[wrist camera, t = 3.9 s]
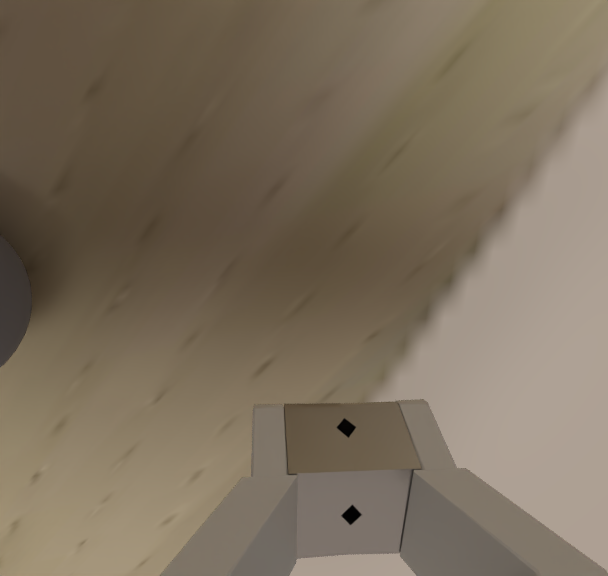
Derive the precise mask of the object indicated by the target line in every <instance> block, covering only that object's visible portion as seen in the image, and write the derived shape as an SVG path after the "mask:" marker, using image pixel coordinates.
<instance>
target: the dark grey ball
mask: <svg viewBox="0 0 608 576" xmlns="http://www.w3.org/2000/svg"><path fill="white" fill-rule="evenodd" d="M31 310H32V292H31V286H30V282H29V278H28V275H27V272H26V269H25V267H24V265H23V263H22V261H21V259H20V258H19V256H18V254H17V253H16V251H15V250H14V249H13V248H12V246H11V245H10V244H9V243H8V242H7V241H6V240H5V239H4V238H3V237H2V236H1V235H0V367H1V366H3V365H4V364H5V363H6V361H7V360H8V359H9V358H10V357H11V356H12V354H13V353H14V352H15V351H16V349H17V348H18V346H19V344H20V342H21V341H22V339H23V337H24V335H25V333H26V330H27V327H28V324H29V320H30V316H31Z"/></svg>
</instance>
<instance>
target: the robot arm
mask: <svg viewBox="0 0 608 576" xmlns="http://www.w3.org/2000/svg"><path fill="white" fill-rule="evenodd" d="M386 553H387V554H389V553H400V556H401V558H402V559H403V560H404V561H405V562H406V564H407V565H408V566H409V567H410V568H411V570H412V571H413V572H414V573H415V574H416V575H417V576H608V573H607V571H606V570H605V569H604V568H602V567H601V566H600V565H598V564H597V563H596V562H594V561H593V560H591V559H590V558H589V557H587V556H586V555H585V554H583V553H582V552H580V551H579V550H578V549H576V548H575V547H573V546H572V545H571V544H569V543H568V542H566V541H565V540H564V539H562V538H561V537H560V536H558V535H557V534H556V533H554V532H553V531H551V530H550V529H549V528H547V527H546V526H545V525H543V524H542V523H540V522H539V521H538V520H536V519H535V518H533V517H532V516H531V515H530V514H528V513H527V512H525V511H524V510H523V509H521V508H520V507H519V506H517V505H516V504H514V503H513V502H512V501H510V500H509V499H508V498H506V497H505V496H503V495H502V494H501V493H499V492H498V491H497V490H495V489H494V488H492V487H491V486H490V485H488V484H487V483H486V482H484V481H483V480H481V479H480V478H479V477H477V476H476V475H475V474H473V473H472V472H470V471H469V470H468V469H466V468H457V467H456V465H455V463H454V460H453V458H452V456H451V454H450V451H449V449H448V447H447V445H446V443H445V440H444V438H443V436H442V434H441V431H440V429H439V427H438V425H437V423H436V420H435V418H434V416H433V414H432V412H431V409H430V407H429V405H428V403H427V402H426V401H425V400H423V399H420V400H401V401H395V402H369V403H341V404H340V403H320V404H284V407H283V405H282V404H258V405H254V408H253V425H252V464H251V477H242V478H241V479H240V480H239V482H238V483H237V484H236V485H235V486H234V487H233V489H232V490H231V491H230V492H229V493H228V495H227V496H226V497H225V498H224V499H223V501H222V502H221V503H220V504H219V505H218V507H217V508H216V509H215V510H214V511H213V512H212V514H211V515H210V516H209V517H208V518H207V520H206V521H205V522H204V523H203V524H202V526H201V527H200V528H199V529H198V530H197V532H196V533H195V534H194V535H193V536H192V537H191V539H190V540H189V541H188V542H187V543H186V545H185V546H184V547H183V548H182V549H181V551H180V552H179V553H178V554H177V555H176V557H175V558H174V559H173V560H172V561H171V562H170V564H169V565H168V566H167V567H166V568H165V570H164V571H163V572H162V573H161V574H160V576H289V575H290V573H291V571H292V569H293V567H294V566H295V564H296V559H298V558H309V557H320V556H321V557H322V556H334V555H346V554H386Z"/></svg>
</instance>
